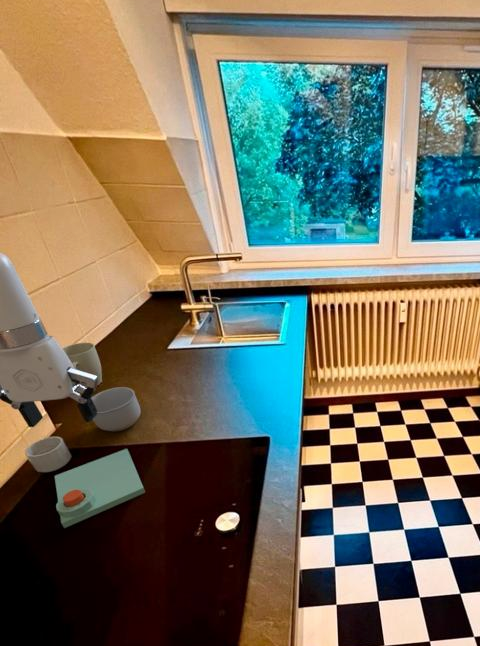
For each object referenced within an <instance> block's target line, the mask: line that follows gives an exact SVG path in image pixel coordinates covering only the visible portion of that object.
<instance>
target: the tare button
mask: <svg viewBox="0 0 480 646" xmlns="http://www.w3.org/2000/svg"><path fill="white" fill-rule="evenodd" d="M83 500H84V495H83V494H82V492H81V491H80V490H73V491H70V492H68V493H67V494H65V495H64V497H63V501H64V503H65V504H66V506H68V507H73V506H76V505H78V504H80V503H81V502H82V501H83Z"/></svg>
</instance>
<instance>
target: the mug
mask: <svg viewBox="0 0 480 646" xmlns="http://www.w3.org/2000/svg"><path fill="white" fill-rule="evenodd" d="M62 349H63V350H64V352H65V353H66V355H67V356H68V358H69V359H70V361H71V363H72V364H73V366H74V368H75V370H79V371H82V372H86V373H89V374H92V375H96V376H97V377H98V381H97V385H99V384H100V383H101V382H102V383H103V378H102V377H103V374H102V373H103V372H102V365H101V364H102V363H101V360H100V357H99V355H98V352H97V349H96V346H95V344H94V343H92V342H79V343H74V344H70V345H67V346H64V347H62ZM80 385H82V386H84V387H85V388H86V383H85V382H82V381H81V384H80ZM97 385H96V386H97Z"/></svg>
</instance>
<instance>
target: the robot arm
mask: <svg viewBox="0 0 480 646" xmlns="http://www.w3.org/2000/svg"><path fill="white" fill-rule="evenodd" d="M62 348H63V347H62V346H61V345H60V343H59V342H58V341H57V339H55V336H53V335H49V333H48V332H47V329H46V327H45V325H44V323H43V322H42V320H41V317H40V316H39V313H38V312H37V309H36V308H35V305H34V304H33V301H32V300H31V297H30V295H29V293H28V291H27V290H26V288H25V285H24V284H23V282H22V280H21V277H20V276H19V273H18V272H17V270H16V268H15V266H14V264H13V262H12V260H10V258H9V257H8V255H6V254H4V253H2V252H0V401H2V402H4V403H6V404H9V405H10V407H11V408H12V409H13V410H18V412H19V413H20V415H21V417H22V418H23V420H24V421H25V423H26V424H27V427H28V428H34V427H36V426H37V425H38V424H39V423H40V422H41V421H42V420H43V418H44V417H43V415H42V413H41V411H40V410H39V407H38V406H37V404H36V403H35V402H44V401H54V400H56V401H57V400H64V399H67V398H70V399H73V400H74V401H75V402H78V403H77V405H76V406H77V409H78V410H79V412H80V414H81V416H82V419H83V420H84V422H86V423H91V422H92V421H93V420H92V419H93V418H94V417H95V416H96V414H97V409H96V407H95V405H94V403H93V401H92V399H91V398H92V397H93V396H94V393H95V392H96V391H97V388H98V387H97V386H96V385H97V381H98V377H97V376H96V375H92V374H89V373H86V372H82V371H79V370H75V368H74V366H73V364H72V363H71V361H70V359H69V358H68V356H67V355H66V353H65V352H64V350H63V349H62ZM81 381H82V382H85V383H86V388H85V387H84V386H82V385H80V384H81Z"/></svg>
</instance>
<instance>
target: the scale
mask: <svg viewBox="0 0 480 646" xmlns="http://www.w3.org/2000/svg"><path fill="white" fill-rule="evenodd" d="M54 482H55V483H54V484H55V489H56V497H57V503H56V505H55V509H56V511H57V513H58V515H59V516H60V517H59V518H60V523H61V525H62V527H63V528H64V529H66V528H68V527H71V526H73V525H75V524H77V523H80V522H82V521H84V520H86V519H88V518H90V517H93V516H95V515H98V514H100V513H102V512H104V511H107V510H109V509H111V508H113V507H115V506H118V505H120V504H123V503H125V502H127V501H130V500H132V499H134V498H136V497H138V496H141V495H143V494H145V493H146V489H145V488H144V485H143V483H142V481H141V477H140V476H139V473H138V471H137V469H136V466H135V463H134V461H133V459H132V456H131V454H130V451H129V450H128V448H124V449H122V450H119V451H117V452H114V453H111V454H109V455H106V456H103V457H100V458H98V459H95V460H93V461H90V462H87V463H85V464H82V465H79V466H77V467H74V468H72V469H69V470H67V471H63V472H61V473H58V474H56V475H54ZM73 490H80V491H81V492H82V494H83V495H84V500H83V501H82V502H81V503H80V504H78V505H76V506H73V507H68V506H66V504H65V503H64V501H63V497H64V495H65V494H67V493H68V492H70V491H73Z"/></svg>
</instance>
